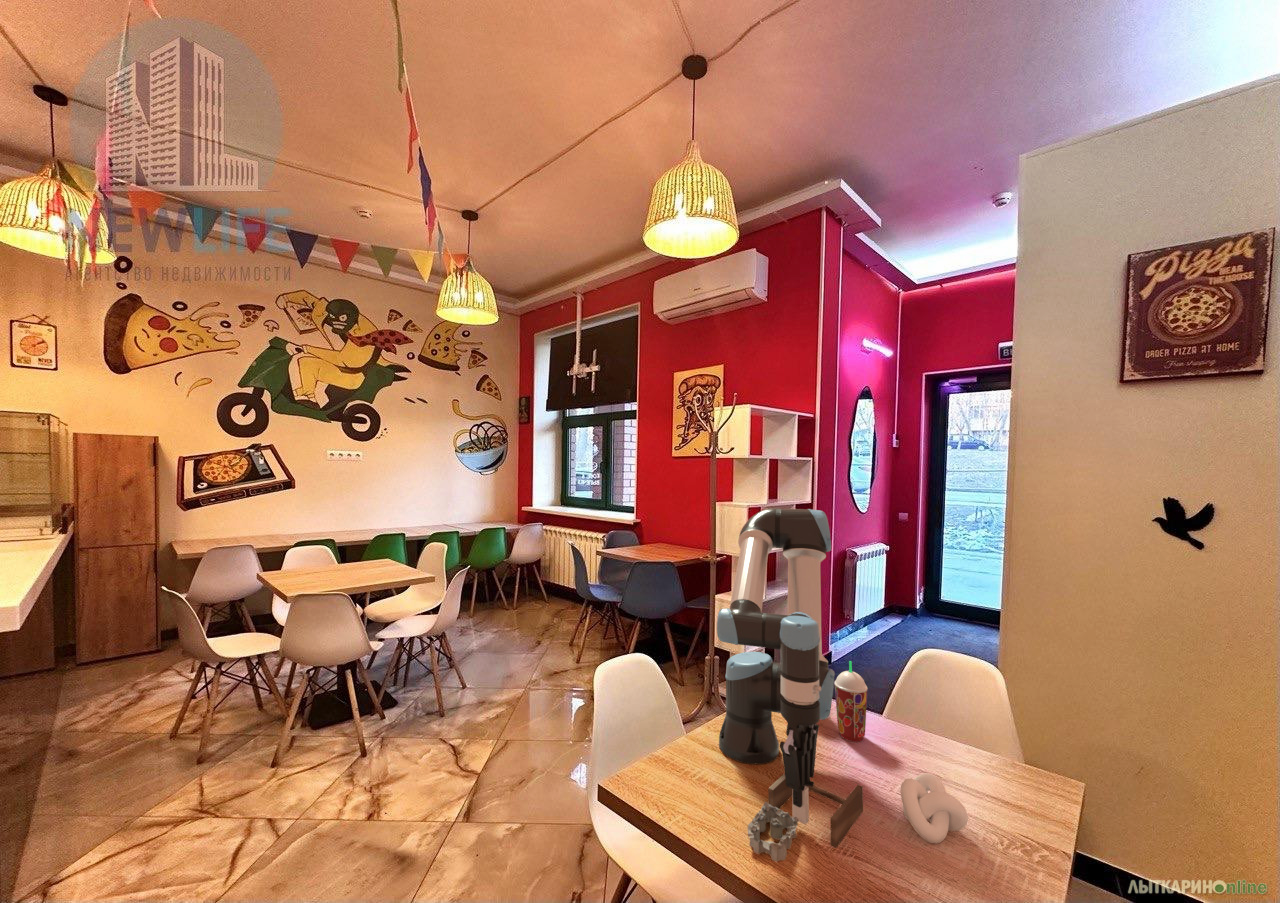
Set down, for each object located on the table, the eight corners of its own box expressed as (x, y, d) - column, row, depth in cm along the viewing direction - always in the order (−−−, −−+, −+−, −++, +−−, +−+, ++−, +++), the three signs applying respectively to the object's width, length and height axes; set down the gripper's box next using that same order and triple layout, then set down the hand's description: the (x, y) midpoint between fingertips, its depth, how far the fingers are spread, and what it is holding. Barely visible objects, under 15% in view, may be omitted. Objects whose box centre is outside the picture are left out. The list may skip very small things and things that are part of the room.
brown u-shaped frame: (768, 812, 101) (768, 787, 101) (799, 782, 112) (799, 759, 112) (836, 848, 92) (835, 820, 92) (863, 811, 102) (862, 786, 102)
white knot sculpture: (884, 807, 104) (883, 763, 104) (941, 809, 103) (940, 765, 104) (912, 846, 92) (911, 797, 93) (976, 849, 92) (975, 799, 93)
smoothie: (873, 745, 128) (872, 667, 129) (842, 744, 128) (841, 666, 130) (860, 729, 136) (859, 656, 138) (830, 728, 137) (829, 655, 138)
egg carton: (782, 868, 87) (782, 844, 87) (743, 849, 91) (743, 826, 92) (801, 834, 96) (801, 812, 96) (765, 817, 100) (765, 797, 100)
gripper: (803, 714, 91) (804, 847, 89) (831, 693, 100) (832, 812, 99) (767, 701, 96) (767, 826, 94) (796, 682, 105) (797, 796, 104)
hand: (800, 819), depth 96 cm, fingers closed
